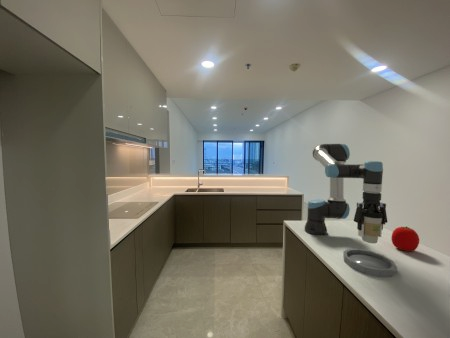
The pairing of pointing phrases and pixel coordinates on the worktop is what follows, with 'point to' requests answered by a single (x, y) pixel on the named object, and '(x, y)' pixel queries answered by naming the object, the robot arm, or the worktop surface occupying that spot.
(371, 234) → the coffee cup
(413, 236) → the tomato
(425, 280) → the worktop surface
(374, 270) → the tray
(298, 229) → the worktop surface
